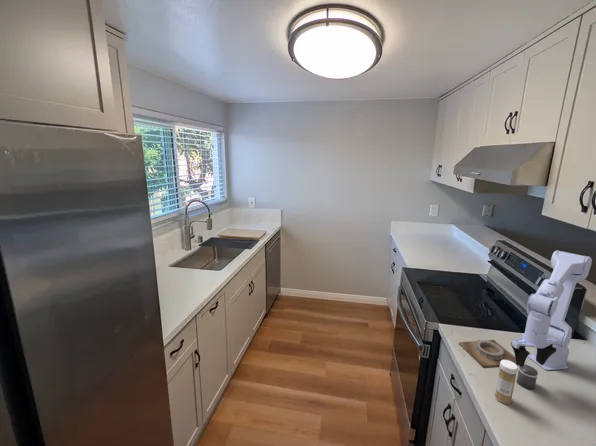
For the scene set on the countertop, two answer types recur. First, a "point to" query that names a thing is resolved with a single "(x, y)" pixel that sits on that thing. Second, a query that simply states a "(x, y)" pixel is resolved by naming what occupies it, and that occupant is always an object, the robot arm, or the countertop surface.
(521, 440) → the countertop surface
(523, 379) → the lens
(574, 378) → the countertop surface
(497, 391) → the sprinkles bottle
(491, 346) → the mount board
